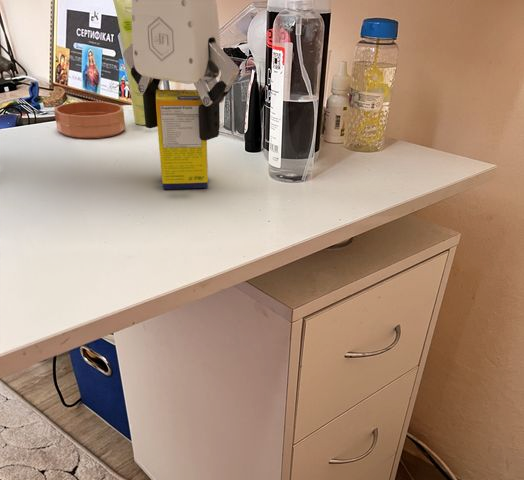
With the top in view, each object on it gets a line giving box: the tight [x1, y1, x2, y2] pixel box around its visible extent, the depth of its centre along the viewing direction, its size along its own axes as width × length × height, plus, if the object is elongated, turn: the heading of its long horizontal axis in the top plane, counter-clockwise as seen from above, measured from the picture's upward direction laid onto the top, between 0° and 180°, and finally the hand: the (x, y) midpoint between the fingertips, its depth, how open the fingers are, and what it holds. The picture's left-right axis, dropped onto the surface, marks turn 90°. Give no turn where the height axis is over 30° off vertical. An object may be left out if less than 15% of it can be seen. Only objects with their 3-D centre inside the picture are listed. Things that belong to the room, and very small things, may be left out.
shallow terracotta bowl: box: [53, 100, 126, 139], centre depth 89 cm, size 11×11×4 cm
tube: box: [112, 0, 161, 126], centre depth 90 cm, size 6×5×20 cm
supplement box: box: [156, 89, 209, 190], centre depth 68 cm, size 6×6×11 cm
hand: (181, 131), depth 68 cm, fingers closed on supplement box, 8 cm apart
